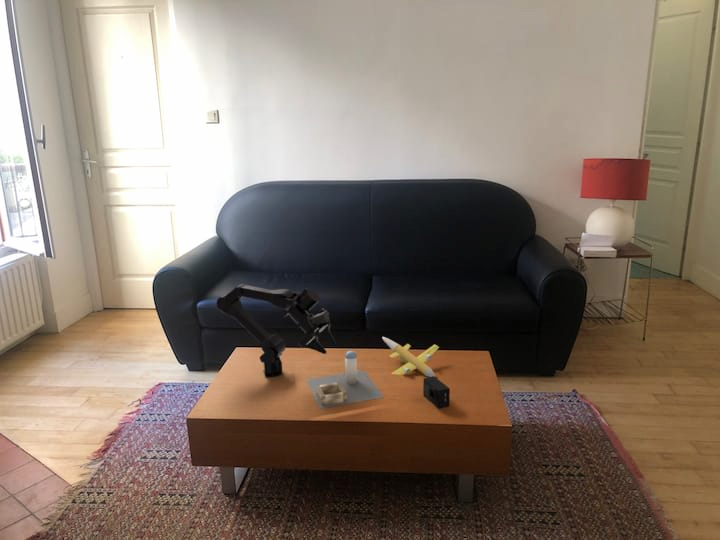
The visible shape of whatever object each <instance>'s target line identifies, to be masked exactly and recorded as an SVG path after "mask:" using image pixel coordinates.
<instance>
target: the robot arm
mask: <svg viewBox="0 0 720 540" xmlns="http://www.w3.org/2000/svg"><path fill="white" fill-rule="evenodd" d="M242 297H243V298H244V297H245V298H249V299H253V300H258V301H262V302H267V303H269V304H270V305H272V306H273V307H276V308H279V309H283V315H282V316H283V318H286V317H287V316H290V318H291V319H292V320H293V321H294V322H295V324H297V325H296V327H297V329H299V328H301V330H302V331H304V335H303V336H302V337H301V338H300V339H299V340H298V345H299V346H300V347H301V348H307V349H310V350H313V351H315V352H317V353H320V354H322V355H326V354H327V352H328V351H327V350H326V348H325V347H324V346H323V345H322V343H321V342H320V341H319V336H320V337H321V338H323V339H324V340H326V341H327V342H329V343H330V344H332V345H335V344H336V339H335V338H334V335H333V334H332V332H331V323H330V322H331V319H330V316H329V315H330V312H329V311H328V310H327V309H326V308H321V309H320V310H319V311H318V313H317V314H314V313H312V312H311V313H309V312H310V310H312V309H313V308H314V307H315V306H316V305H317V304H318V303H319V302H320V300H321V298H320V297H321V296H320V295H319V294H318V292H317V291H315V290H313V289H310V288H309V287H305V288H304V289H303V291H302V292H300V293H298V292H293V290H291V289H289V288H288V289H287V288H282V289H281V288H280V289H279V288H278V289H267V288H264V287H263V288H262V287H259V286H252V285H248V284H245V283H240V284H238V285H237V286H235V287H234V288H233V289H232V290H231V291H229V292H227V293H226V294H223V295H221V296H219V297H218V298H217V300H216V308H217V309H218V310H219V311H221V312H222V313H224V314H225V315H227V316H230V317H232V318H234V319H235V320H236V321H237V322H238V323H239V324H240V325H241V326H242V327H243V328H244V329H245V330H246V331H247V332H248V333H249V334H250V335H252V337H254V339H255V340H256V341H258V343H259V345H260V348H261V350H262V352H263V353H262V354H261V355H260V356H259V360H260V362H261V363H263V364H262V365H263V375H264V377H265V378H270V377H279V376H282V375H283V373H282V372H283V362H282V359H281V358H280V357H281V356H282V355H283V353H284V351H285V350H286V343H285V341H284V340H285V339H284V338H282V337H280V335H279V334H278V333H277V332H275V333H274V334H271V333H269V332H268V331H267V330H266V329H265V328H264V327H263V326H262V325H261V324H260V323H259V322H257V320H256V319H254V318H253V316H251V315H250V313H248V311H246V310H245V308H243V304H242V301H241V300H240V299H241V298H242ZM295 303H296V304H295ZM308 311H309V312H308ZM316 334H317V335H316Z"/></svg>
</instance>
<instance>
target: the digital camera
mask: <svg viewBox="0 0 720 540" xmlns="http://www.w3.org/2000/svg"><path fill="white" fill-rule="evenodd" d="M422 387H423V393H422V395H423V397H424V398H425V399H426V400H427V401H428V402H430V403H431V404H432V405H433V406H434V407H436V408H437V409H438V410H441V409H444V408H448V407H450V397H451V396H450V394H451V392H450V391H451V389H450V387H448V386H447V384H444V383H443V382H442V381H441V380H440V379H438V378H437V377H436V376H435V377H434V376H432V377H428V376H427V377H424V378H423V386H422Z"/></svg>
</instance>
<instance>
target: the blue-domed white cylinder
mask: <svg viewBox="0 0 720 540" xmlns="http://www.w3.org/2000/svg"><path fill="white" fill-rule="evenodd" d="M357 358H358V354H357V353H356V351H354V350H348V351H346V352H345V355H344V369H345V371H344V372H345V375H346V383H348V384H355V383H357V371H358V359H357Z"/></svg>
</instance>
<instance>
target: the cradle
mask: <svg viewBox="0 0 720 540" xmlns="http://www.w3.org/2000/svg"><path fill="white" fill-rule="evenodd" d="M334 392H338V393H334ZM328 393H333V394H328ZM324 394H327V395H324ZM316 395H317V397H318V399H319V401H320V403H321V405H322V404H326V405H328V404H334V403H339V402H343V401H344V400H347V392H346V390H345V389H344V387H343V386H342V384H341V383H330V384H323V385H319V386H317V387H316Z"/></svg>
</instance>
